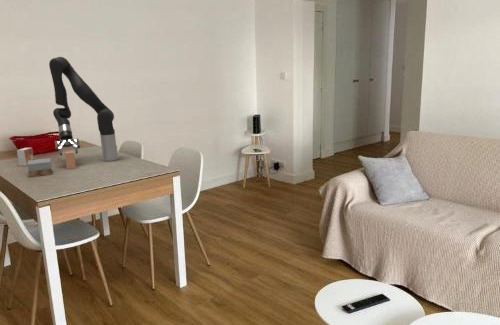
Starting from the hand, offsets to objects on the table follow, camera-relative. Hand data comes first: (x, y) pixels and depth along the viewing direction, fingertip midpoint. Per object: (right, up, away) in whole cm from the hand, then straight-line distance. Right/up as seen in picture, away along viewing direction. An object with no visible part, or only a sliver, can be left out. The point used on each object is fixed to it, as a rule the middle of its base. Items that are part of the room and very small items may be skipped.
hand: (69, 154), depth 261 cm
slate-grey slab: (-12, -8, -12) cm, 19 cm away
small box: (-34, -7, +14) cm, 37 cm away
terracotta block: (+1, -9, 0) cm, 9 cm away
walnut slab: (-12, -12, -11) cm, 20 cm away
